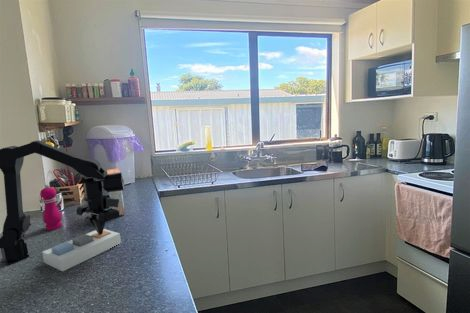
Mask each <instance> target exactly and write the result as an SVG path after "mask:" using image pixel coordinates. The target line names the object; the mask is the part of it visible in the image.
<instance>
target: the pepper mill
mask: <svg viewBox="0 0 470 313" xmlns="http://www.w3.org/2000/svg"><path fill="white" fill-rule="evenodd" d="M39 192H40V193H39V194H40V198H42V201H43V202H42V203H43V204H44V213H43V216H42V221H43V223H44V224H46V225H45V230H46V231H54V230H57V229H61V228H62V226H63V222H62V219H63V217H62V216H63V215H62V212H61V211H60V210H59V208H58V207H57V206H58V205H57V203H56V201H57V197H56V195H57V190H56V188H54V187H52V186H50V184H49V183H46V184H45V185H44V188H42V189H41V190H40V191H39Z"/></svg>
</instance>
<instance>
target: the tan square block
mask: <svg viewBox="0 0 470 313" xmlns="http://www.w3.org/2000/svg"><path fill="white" fill-rule="evenodd" d="M108 234H110V232H107V231H103V233H102V234H98V233H95V234H93V235H91V236H92V237H95V238H98V239H99V238H101V237H104V236H106V235H108Z"/></svg>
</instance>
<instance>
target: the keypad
mask: <svg viewBox="0 0 470 313" xmlns="http://www.w3.org/2000/svg"><path fill="white" fill-rule="evenodd" d="M103 231H107V232H110V234H108V235H106V236H104V237H101V238H99V239H98V238H95V237H93V241H92V242H90V243H88V244H85V245H83V246H81V247H79V246H76V245H74V244H73V242H72V239H71V240H68V241H67V242H68V243H70V244H73V246H74V250H71V251H69V252H67V253H65V254H62V255H60V256H58V255H56V254H53V253H52V249H51V248H52V247H50V248H48V249H45V250H44V251H42V252H41V253H42V259H43V263H44V264H46V265H48V266H51V267H52V268H54V269H57V270H58V271H60V272H65V271H67V270H68V269H70V268H71V269H72V268H73V267H75V266H78V265H79V264H81V263H83V262H85V261H87V260H89V259H92V258H93V257H96V256H98V255H100V254H102V253H104V252H106V251H108V250H110V248H111V249H113V248H115V247H117V246H119V245H121V244H122V239H121V233H120V232H116V231H113V230H109V229H106V228H104V229H103ZM95 233H98V232H97V231H96V230H95V229H94V230H92V231H90V232H87V233H85V234H86V235H89V236H91V235H93V234H95ZM120 243H121V244H120ZM118 244H119V245H118ZM116 245H117V246H116ZM114 246H115V247H114ZM112 247H113V248H112Z"/></svg>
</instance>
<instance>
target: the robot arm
mask: <svg viewBox="0 0 470 313" xmlns="http://www.w3.org/2000/svg"><path fill="white" fill-rule="evenodd" d="M32 154H37V155H40V156H42V157H45V158H47V159H51V160H53V161H55V162H58V163H59V164H63V165H65V166H69V167H70V168H72V169H73V170H74V171H76V172H77V173H78V174H80V175H82V177H81V178H80V180H79V181H78V182H77V184H78V185H84V190H85V196H86V197H84V198H83V199H84V202H87V204H83V205H79V206H78V207H77V208H76V215H78V216H83V215H84V213H86V217H85V219H86V220H87V222H89V223H90V224H91V226H92V227H93V229H94V231H95V230H96V231H97V232H98V234H102V233H103V229H105V228H104V227H105V223H107V222H110V221H112V220H115V219H117V218H119V217H120V216H121V215H120V213H119V211H118V210H116V209H112V208H111V207H118V204H119V199H115V198H110V196H109V194H104V191H105V192H107V193H109V192H115V191H122V192H123V191H125V180H124V178H123V175H122V174H123V172H121V171H119V173H115V174H108V173H107V170H105V169H104V168H103V167H102V165H101V163H100V161H98V160H97V159H94V158H90V157H84V156H79V155H75V154H73V153H71V152H68V151H65V150H63V149H61V148H58V147H56V146H53V145H50V144H48V143H46V142H45V141H43V140H39V139H38V140H34V141H31V142H29V143H26V144H23V145H20V146H16V145H10V146H7V147H3V148H0V171H1V173H2V174H3V181H4V182H3V184H4V196H5V206H6V207H5V208H6V217H5V220H4V223H3V227H2V236H1V237H0V252H1V257H2V258H1V259H0V261H1V262H3V263H4V264H7V265H12V264H14V263H16V262H19V261H22V260H24V259H27V258H29V257H30V255H29V250H28V244H27V242H25V239H24V237H25V236H26V233H27V232H28V231H29V229H30V227H31V226H32V223H31V215H30V214H26V213H25V212H24V207H23V195H22V194H23V193H22V182H21V180H22V178H21V171H22V168H23V164H24V160H25V159H24V158H25V157H26V156H29V155H32Z"/></svg>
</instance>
